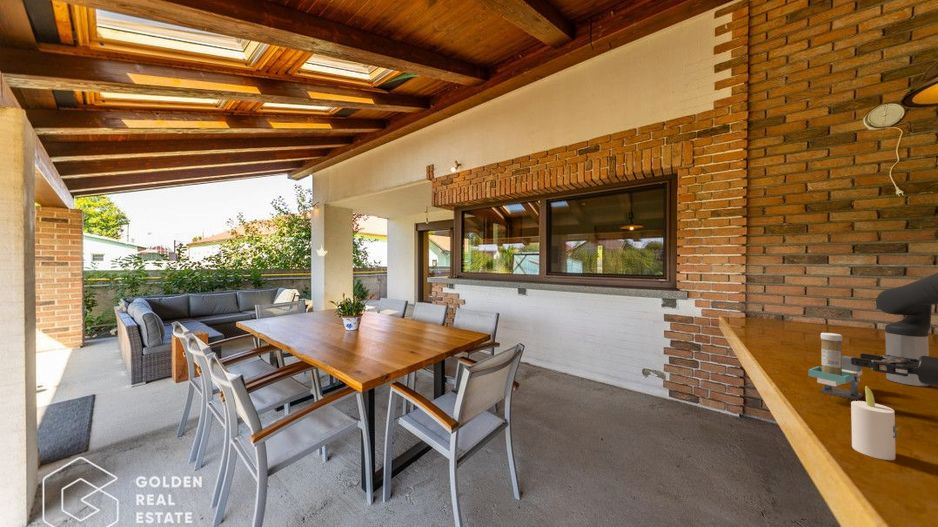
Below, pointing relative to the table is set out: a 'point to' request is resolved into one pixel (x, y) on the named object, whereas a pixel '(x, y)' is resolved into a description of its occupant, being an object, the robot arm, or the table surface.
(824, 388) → the pivot stand
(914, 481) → the table surface
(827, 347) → the sprinkles bottle
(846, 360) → the beam
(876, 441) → the candle
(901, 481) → the table surface
